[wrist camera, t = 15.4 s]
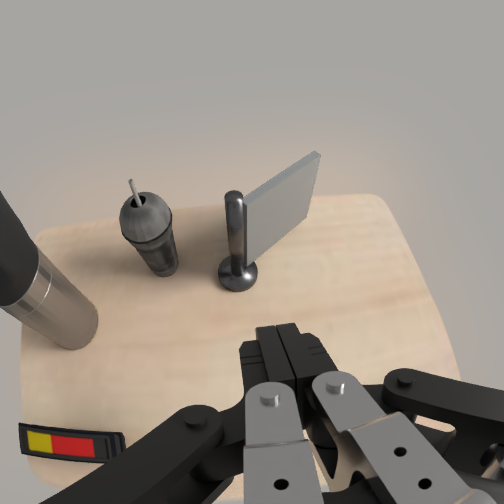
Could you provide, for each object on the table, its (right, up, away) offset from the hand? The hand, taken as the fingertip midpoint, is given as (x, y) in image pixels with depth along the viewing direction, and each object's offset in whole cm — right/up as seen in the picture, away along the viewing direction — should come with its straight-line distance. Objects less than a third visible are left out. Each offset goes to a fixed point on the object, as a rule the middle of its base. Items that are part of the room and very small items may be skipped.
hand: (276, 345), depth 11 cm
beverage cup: (-15, +1, +36) cm, 39 cm away
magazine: (-22, -24, +20) cm, 38 cm away
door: (+3, +6, +38) cm, 38 cm away
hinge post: (-3, 0, +35) cm, 36 cm away
